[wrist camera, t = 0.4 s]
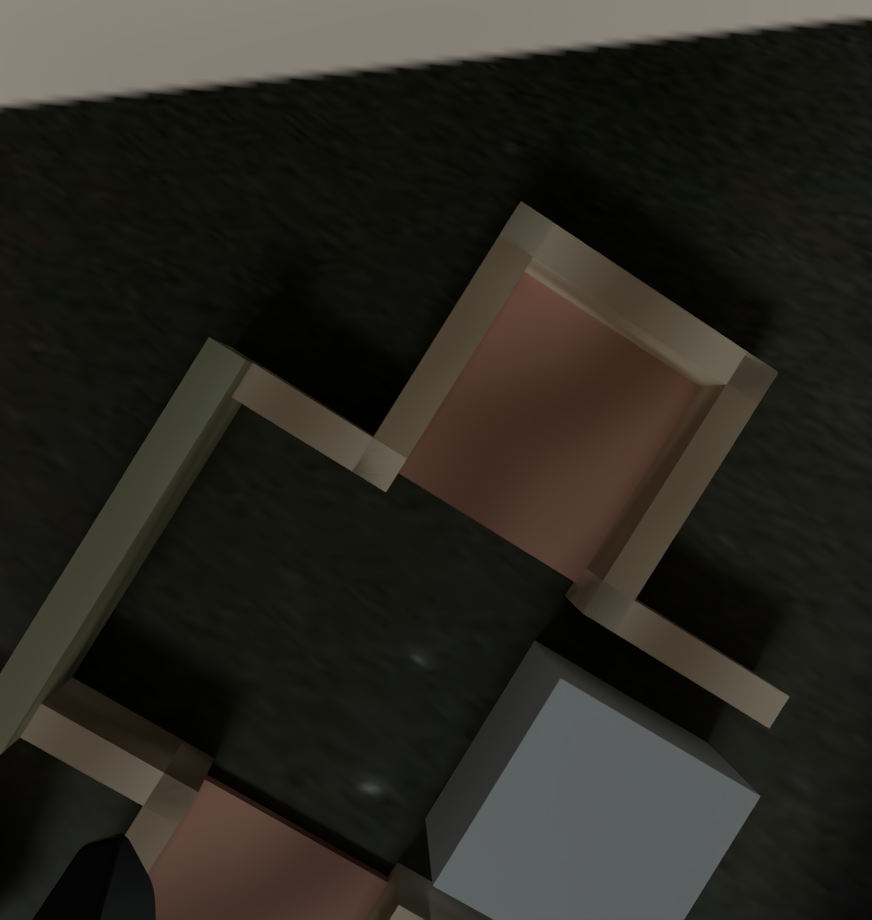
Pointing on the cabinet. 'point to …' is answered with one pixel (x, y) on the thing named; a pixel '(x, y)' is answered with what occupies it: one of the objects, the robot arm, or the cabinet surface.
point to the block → (582, 805)
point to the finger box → (449, 478)
